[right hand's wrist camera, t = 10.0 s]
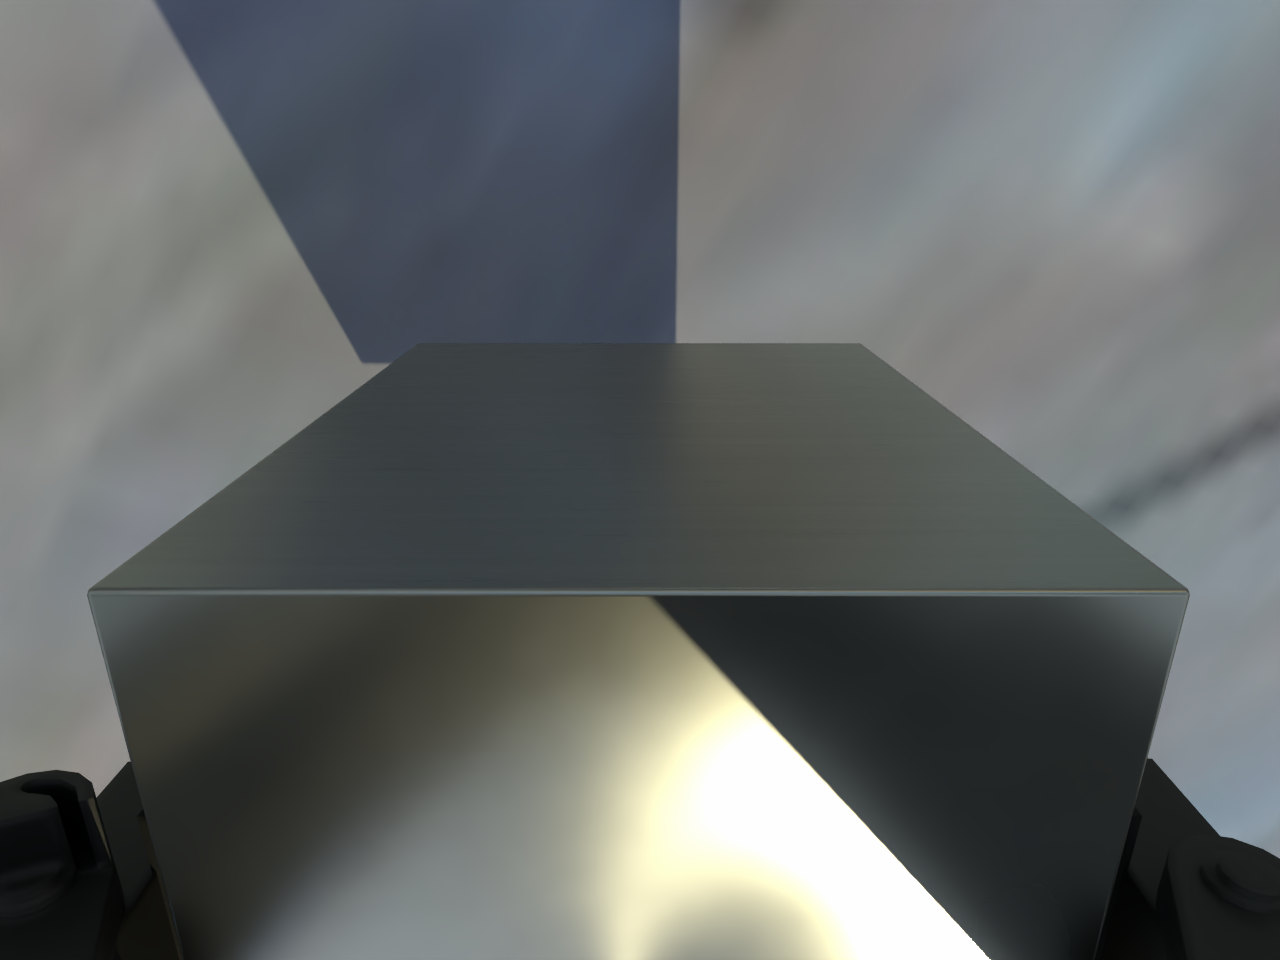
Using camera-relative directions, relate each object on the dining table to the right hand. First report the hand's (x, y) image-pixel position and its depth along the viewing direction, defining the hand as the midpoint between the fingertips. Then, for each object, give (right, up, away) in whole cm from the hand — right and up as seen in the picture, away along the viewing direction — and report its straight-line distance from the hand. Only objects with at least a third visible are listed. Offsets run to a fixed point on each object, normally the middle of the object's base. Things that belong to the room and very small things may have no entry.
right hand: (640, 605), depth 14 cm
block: (0, +1, +2) cm, 2 cm away
